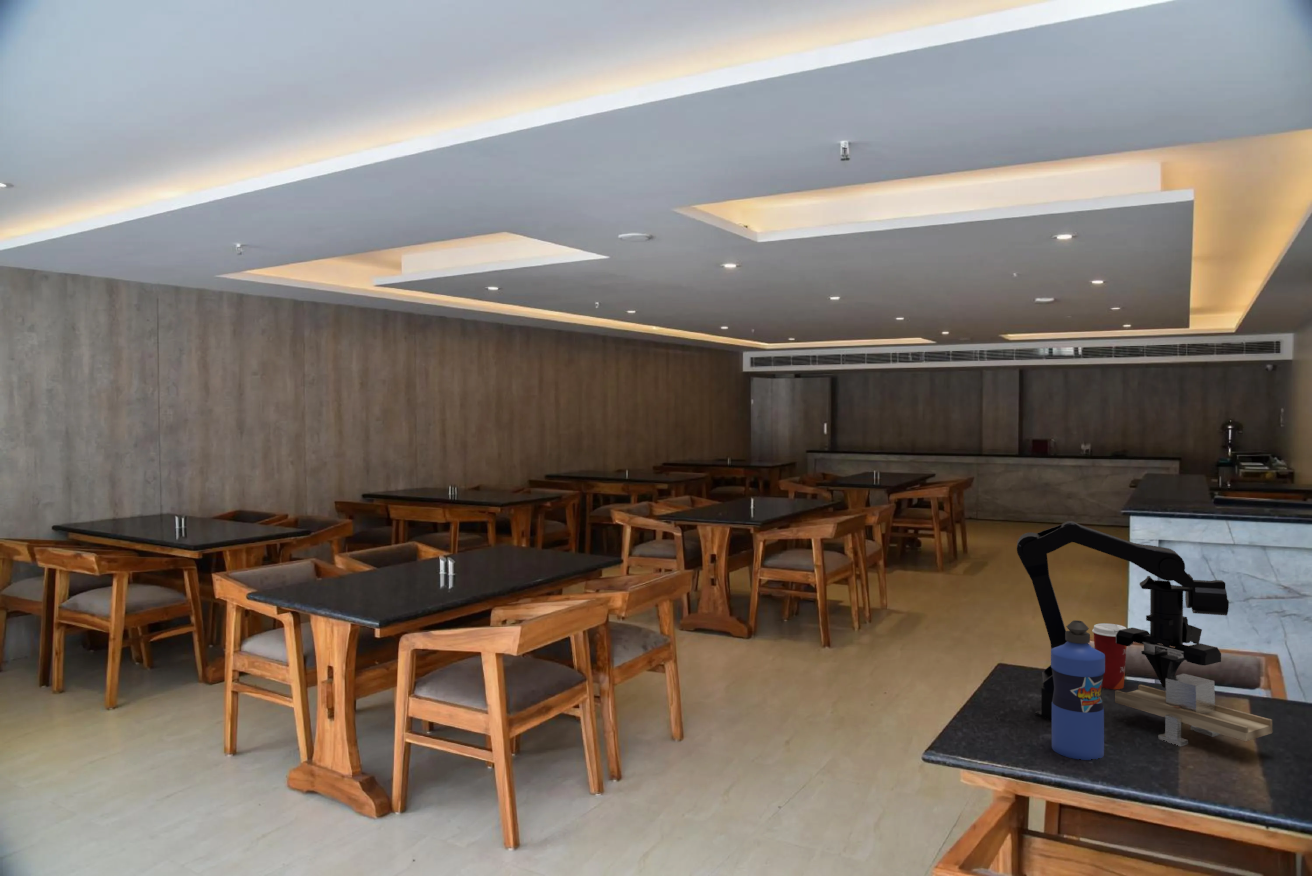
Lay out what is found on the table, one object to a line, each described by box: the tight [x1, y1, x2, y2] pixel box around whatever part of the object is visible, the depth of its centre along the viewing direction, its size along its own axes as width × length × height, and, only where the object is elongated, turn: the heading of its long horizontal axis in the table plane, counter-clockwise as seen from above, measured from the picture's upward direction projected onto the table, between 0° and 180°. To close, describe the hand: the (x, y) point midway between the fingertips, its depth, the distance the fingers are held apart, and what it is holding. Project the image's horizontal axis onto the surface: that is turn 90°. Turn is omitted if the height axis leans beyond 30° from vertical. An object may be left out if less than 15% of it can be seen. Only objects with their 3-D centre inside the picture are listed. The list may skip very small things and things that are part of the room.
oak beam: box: [1114, 684, 1273, 742], centre depth 172 cm, size 8×26×4 cm, turn 27°
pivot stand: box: [1157, 714, 1221, 747], centre depth 172 cm, size 13×4×5 cm, turn 117°
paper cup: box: [1091, 622, 1128, 690], centre depth 204 cm, size 8×8×14 cm
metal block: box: [1165, 673, 1216, 714], centre depth 172 cm, size 6×6×6 cm
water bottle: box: [1050, 619, 1105, 761], centre depth 166 cm, size 9×9×25 cm
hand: (1166, 687), depth 176 cm, fingers closed
